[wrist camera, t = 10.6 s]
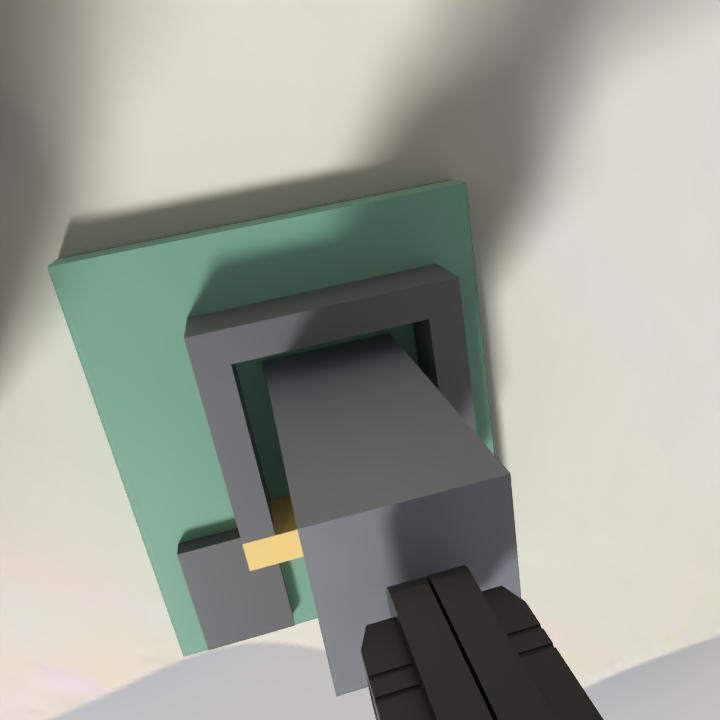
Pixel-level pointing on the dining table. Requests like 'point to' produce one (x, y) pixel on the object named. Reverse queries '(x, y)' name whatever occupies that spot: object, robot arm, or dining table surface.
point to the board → (257, 377)
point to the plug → (383, 487)
